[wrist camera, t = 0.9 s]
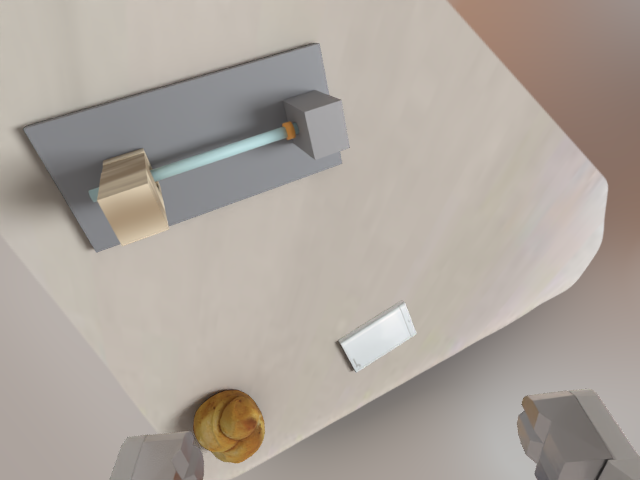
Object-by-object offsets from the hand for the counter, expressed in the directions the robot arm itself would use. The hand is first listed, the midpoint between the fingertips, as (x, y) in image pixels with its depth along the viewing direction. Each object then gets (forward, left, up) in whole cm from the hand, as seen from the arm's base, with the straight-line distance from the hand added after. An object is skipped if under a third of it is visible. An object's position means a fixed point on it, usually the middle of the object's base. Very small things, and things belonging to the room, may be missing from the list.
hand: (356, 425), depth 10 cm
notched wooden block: (+4, -7, -40) cm, 41 cm away
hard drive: (+43, +17, -42) cm, 63 cm away
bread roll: (+45, -10, -42) cm, 62 cm away
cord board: (+4, +1, -41) cm, 42 cm away
